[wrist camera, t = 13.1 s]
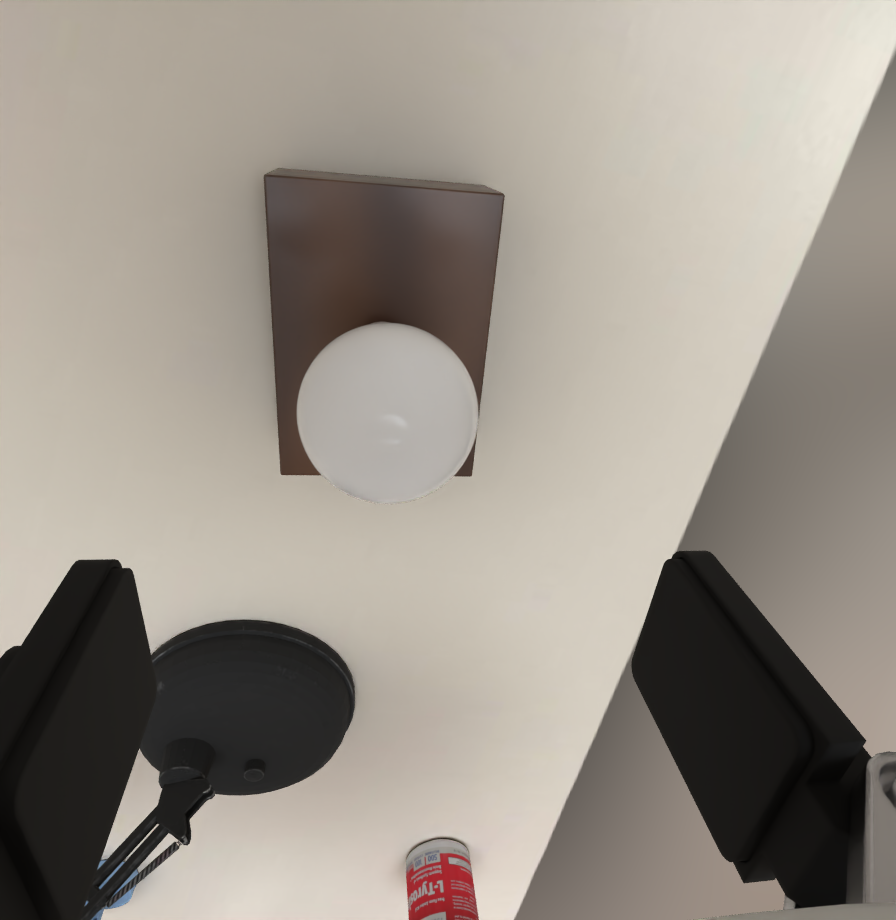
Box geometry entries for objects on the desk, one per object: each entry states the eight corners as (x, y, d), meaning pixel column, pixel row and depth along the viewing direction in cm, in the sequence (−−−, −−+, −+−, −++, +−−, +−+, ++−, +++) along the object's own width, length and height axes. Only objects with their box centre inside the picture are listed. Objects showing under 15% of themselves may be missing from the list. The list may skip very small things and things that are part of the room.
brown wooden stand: (290, 434, 35) (280, 475, 31) (277, 167, 28) (263, 174, 24) (459, 437, 36) (471, 477, 32) (484, 185, 30) (505, 193, 26)
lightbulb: (367, 430, 30) (370, 570, 20) (283, 329, 27) (241, 436, 17) (473, 361, 29) (529, 474, 19) (398, 247, 26) (421, 314, 16)
